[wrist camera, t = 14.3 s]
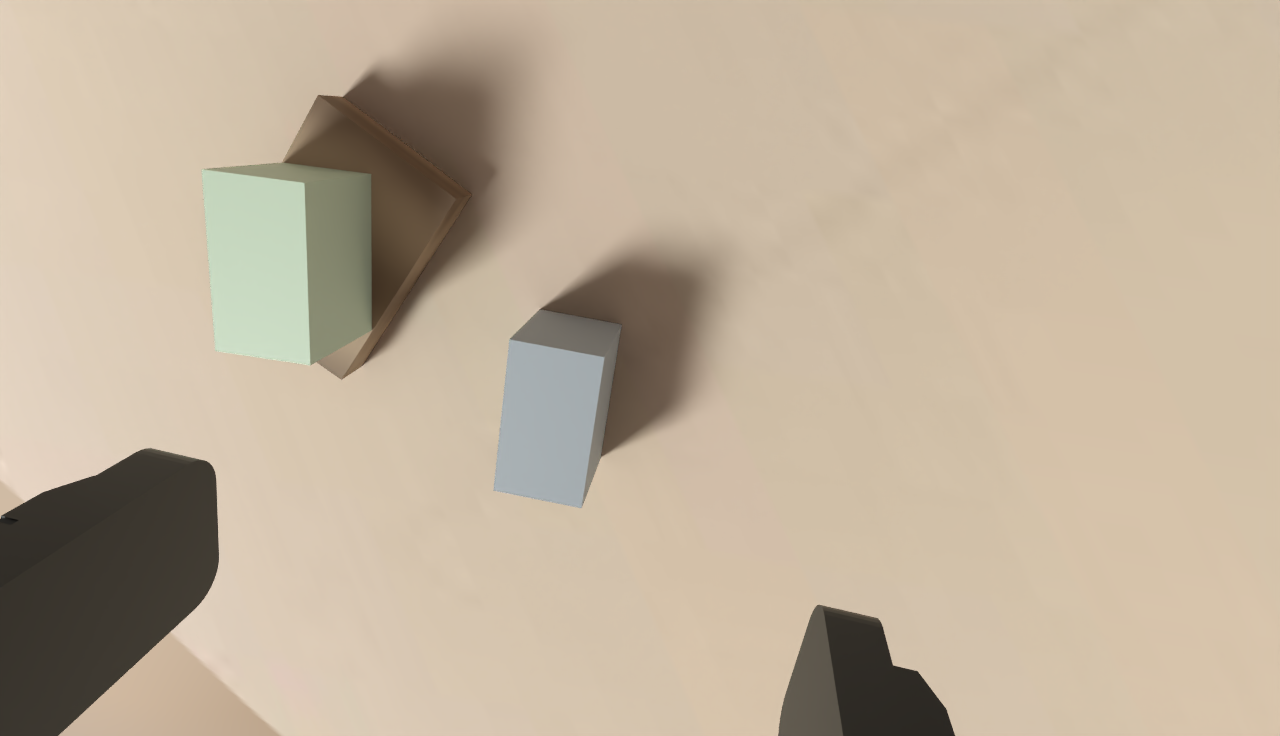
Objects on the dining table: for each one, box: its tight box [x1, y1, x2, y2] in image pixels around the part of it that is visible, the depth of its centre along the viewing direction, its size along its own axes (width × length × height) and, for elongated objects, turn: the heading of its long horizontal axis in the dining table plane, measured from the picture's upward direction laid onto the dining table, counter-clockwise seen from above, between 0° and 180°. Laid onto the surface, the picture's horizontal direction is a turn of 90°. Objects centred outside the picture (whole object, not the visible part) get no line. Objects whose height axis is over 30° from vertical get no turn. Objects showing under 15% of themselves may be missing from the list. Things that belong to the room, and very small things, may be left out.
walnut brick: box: [282, 95, 472, 380], centre depth 39 cm, size 12×8×3 cm, turn 143°
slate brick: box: [494, 309, 622, 508], centre depth 38 cm, size 8×4×6 cm, turn 171°
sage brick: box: [202, 163, 372, 365], centre depth 35 cm, size 8×4×6 cm, turn 174°
